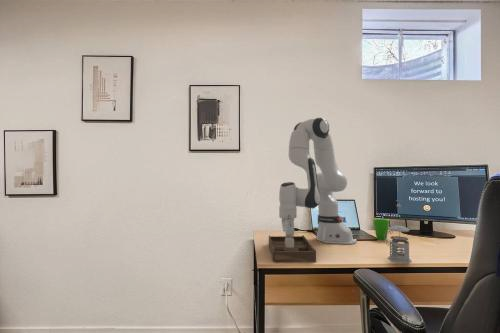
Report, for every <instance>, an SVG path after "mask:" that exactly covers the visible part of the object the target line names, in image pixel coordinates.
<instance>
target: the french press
mask: <svg viewBox="0 0 500 333" xmlns="http://www.w3.org/2000/svg"><path fill="white" fill-rule="evenodd" d="M396 207H397V208H401V207H402V205H401V204H399V203H397V204H396ZM394 232H397V233H398V236H396V235H395V236H390V240H389V239H386V240H384V242H385V244H386V246H388V247H389V256H387V259H388V260H389V261H391V262H395V263H399V264H409V263H412V261H413V260H412V259H411V258H410V242H409V238H408V237H405V236H400V235H401V234H400V233H408V232H410V229H409V228H408V227H406V226H402V225H400V224H398V225H393V226H389V227H388V231H387V232H386V233H387V235H388V234H390V235H392V234H393V233H394ZM386 233H385V235H386ZM384 239H385V236H384ZM388 240H389V241H388Z"/></svg>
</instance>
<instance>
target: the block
mask: <svg viewBox="0 0 500 333" xmlns="http://www.w3.org/2000/svg"><path fill="white" fill-rule="evenodd" d="M285 247H286V248H294V239H293V238H285Z"/></svg>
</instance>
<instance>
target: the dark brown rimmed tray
mask: <svg viewBox="0 0 500 333" xmlns="http://www.w3.org/2000/svg"><path fill="white" fill-rule="evenodd" d="M285 238H286V235H285V236H284V235H283V236H273V235H268V247H269V251H270V254H271V260H272V263H317V250H316V248H315V247H314V246H313V244H311V243H310V242H309V240H308V239H307V238H306V237H305V235H301V236H298V235H297V236H295V235H294V236H290V238H293V239H294V248H286V247H285Z"/></svg>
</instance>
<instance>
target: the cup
mask: <svg viewBox="0 0 500 333" xmlns="http://www.w3.org/2000/svg"><path fill="white" fill-rule="evenodd" d="M372 221H373V227H374V231H375V238H376V239H377V240H379V241H387V238H388V234H387V233H388V232H387V231H389V224H390V220H389V219H384V218H374V219H373V220H372ZM386 232H387V233H386ZM385 233H386V235H385ZM384 236H385V239H384Z"/></svg>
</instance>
